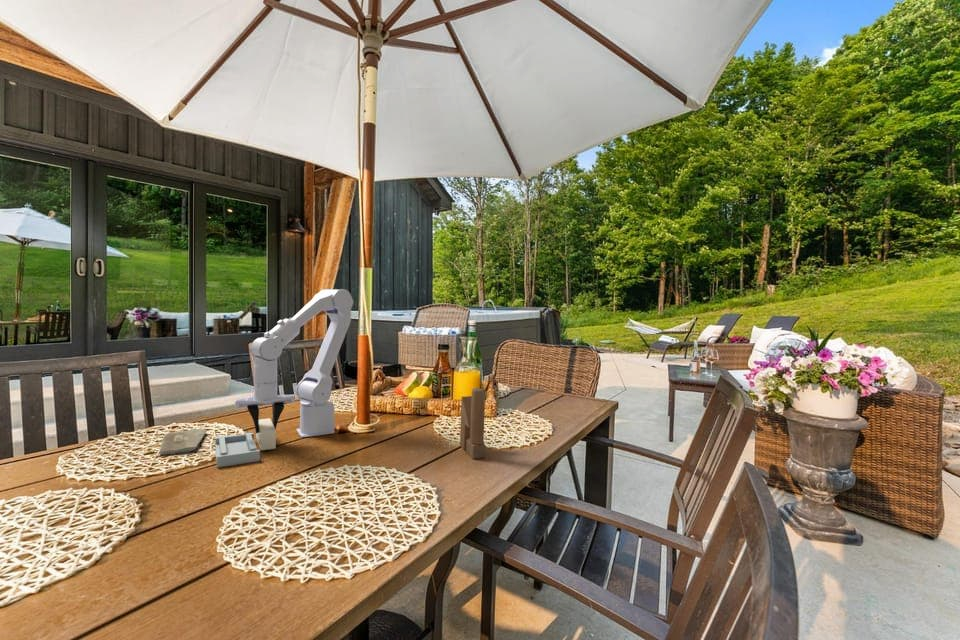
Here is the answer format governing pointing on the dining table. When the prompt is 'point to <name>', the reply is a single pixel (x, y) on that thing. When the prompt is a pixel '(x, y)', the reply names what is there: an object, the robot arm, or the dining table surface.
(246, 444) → the tray
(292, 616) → the dining table surface
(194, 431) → the stone
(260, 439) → the clay bar
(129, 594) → the dining table surface
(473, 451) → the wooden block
